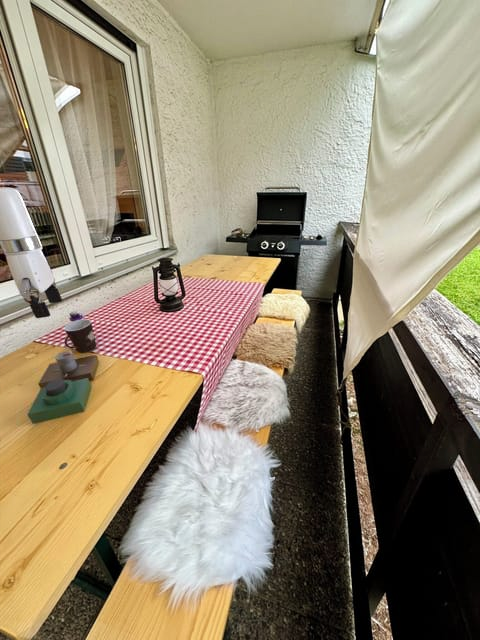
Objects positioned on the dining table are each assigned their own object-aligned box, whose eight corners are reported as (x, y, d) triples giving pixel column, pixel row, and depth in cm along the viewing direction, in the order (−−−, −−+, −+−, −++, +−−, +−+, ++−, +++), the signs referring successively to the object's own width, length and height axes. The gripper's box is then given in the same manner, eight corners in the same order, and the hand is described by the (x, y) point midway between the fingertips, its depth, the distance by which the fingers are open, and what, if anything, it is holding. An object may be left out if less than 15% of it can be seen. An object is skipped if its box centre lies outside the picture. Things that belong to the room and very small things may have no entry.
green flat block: (33, 424, 66) (23, 408, 63) (46, 396, 74) (38, 382, 72) (84, 411, 69) (77, 396, 66) (91, 386, 77) (85, 372, 75)
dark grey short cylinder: (45, 398, 67) (42, 392, 66) (51, 386, 71) (48, 381, 70) (64, 393, 68) (61, 388, 67) (69, 383, 72) (66, 377, 71)
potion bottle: (67, 344, 99) (55, 316, 94) (85, 332, 106) (74, 306, 101) (84, 347, 97) (73, 319, 91) (101, 335, 104) (92, 308, 98)
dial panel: (42, 391, 77) (37, 383, 75) (53, 371, 85) (49, 363, 84) (93, 380, 80) (90, 372, 78) (99, 361, 88) (96, 354, 87)
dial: (59, 374, 79) (52, 360, 76) (63, 365, 82) (57, 351, 80) (75, 370, 80) (69, 356, 77) (78, 362, 83) (72, 348, 81)
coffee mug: (91, 339, 101) (82, 317, 97) (104, 345, 97) (96, 322, 93) (60, 355, 93) (49, 331, 88) (74, 362, 89) (63, 337, 84)
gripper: (19, 240, 68) (46, 299, 77) (-18, 255, 54) (20, 326, 62) (51, 237, 70) (74, 295, 78) (23, 251, 55) (55, 321, 64)
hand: (50, 309), depth 70 cm, fingers open, 9 cm apart
